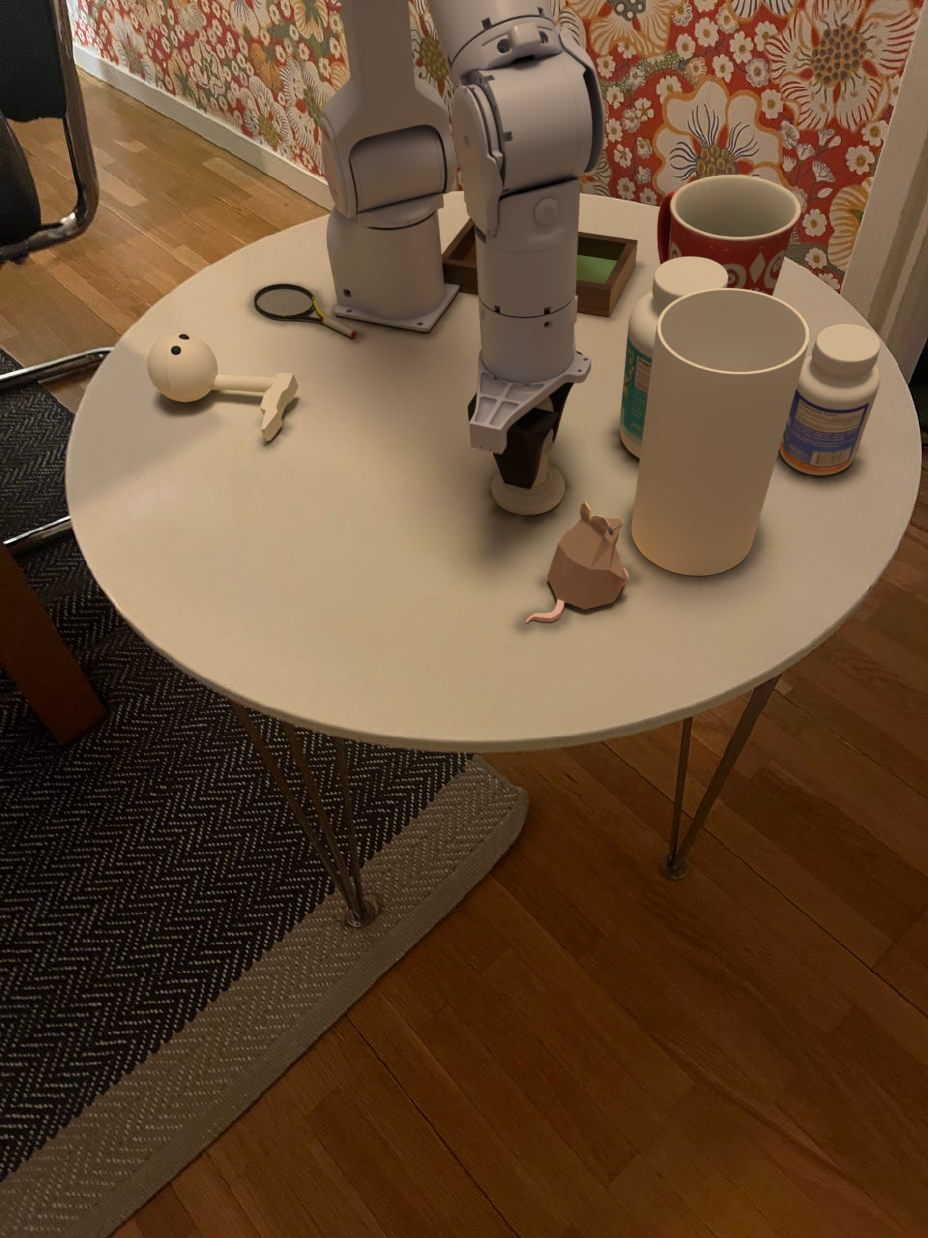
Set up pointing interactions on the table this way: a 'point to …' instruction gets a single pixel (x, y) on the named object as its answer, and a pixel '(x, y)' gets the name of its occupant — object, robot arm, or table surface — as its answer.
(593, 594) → the mouse figurine
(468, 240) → the tray
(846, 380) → the pill bottle
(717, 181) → the mug
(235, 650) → the table surface
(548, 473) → the chess piece
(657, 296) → the pill bottle
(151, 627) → the table surface
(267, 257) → the table surface
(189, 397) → the figurine
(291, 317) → the tennis racket
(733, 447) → the cup
